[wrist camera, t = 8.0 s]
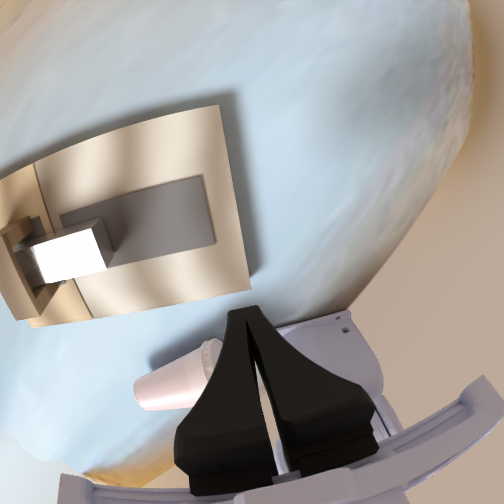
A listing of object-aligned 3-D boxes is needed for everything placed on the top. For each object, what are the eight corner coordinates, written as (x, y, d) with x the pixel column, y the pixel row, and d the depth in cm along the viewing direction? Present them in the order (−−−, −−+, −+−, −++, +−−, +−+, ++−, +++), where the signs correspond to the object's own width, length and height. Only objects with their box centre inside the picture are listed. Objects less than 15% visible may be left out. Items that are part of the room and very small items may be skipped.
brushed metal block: (101, 216, 18) (91, 228, 16) (114, 255, 19) (106, 269, 17) (15, 244, 17) (2, 256, 15) (29, 276, 18) (18, 290, 16)
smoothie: (170, 404, 28) (285, 367, 27) (149, 434, 22) (286, 399, 20) (143, 357, 28) (258, 312, 27) (114, 380, 22) (253, 332, 20)
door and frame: (217, 105, 18) (223, 98, 13) (248, 279, 24) (261, 321, 19) (-17, 190, 16) (-55, 211, 11) (37, 318, 22) (16, 355, 17)
